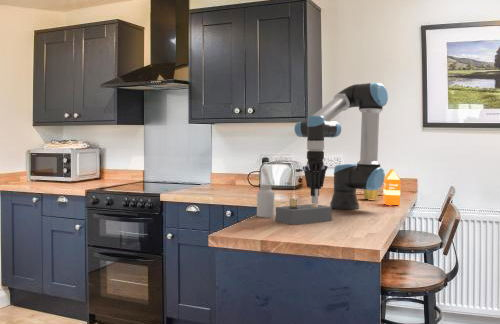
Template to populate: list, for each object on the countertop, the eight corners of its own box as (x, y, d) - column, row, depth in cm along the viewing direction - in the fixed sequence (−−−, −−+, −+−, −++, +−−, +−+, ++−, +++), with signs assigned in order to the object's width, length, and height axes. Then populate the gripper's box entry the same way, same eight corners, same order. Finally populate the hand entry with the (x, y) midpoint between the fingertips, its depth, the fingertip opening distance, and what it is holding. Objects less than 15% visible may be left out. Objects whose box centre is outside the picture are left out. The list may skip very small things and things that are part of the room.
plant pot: (358, 199, 296) (358, 183, 295) (373, 198, 299) (373, 182, 298) (367, 201, 286) (367, 184, 285) (382, 200, 289) (383, 184, 289)
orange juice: (396, 204, 276) (397, 168, 275) (400, 206, 267) (401, 169, 266) (382, 203, 276) (383, 168, 275) (385, 205, 268) (386, 169, 267)
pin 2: (314, 216, 219) (314, 204, 219) (319, 217, 217) (319, 205, 216) (309, 217, 218) (309, 205, 217) (313, 218, 215) (313, 206, 215)
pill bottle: (259, 218, 220) (260, 185, 219) (254, 215, 227) (255, 183, 227) (276, 217, 222) (276, 184, 221) (270, 214, 230) (271, 183, 229)
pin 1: (293, 210, 213) (293, 198, 212) (298, 211, 210) (298, 199, 210) (287, 211, 211) (288, 198, 211) (292, 212, 208) (292, 199, 208)
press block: (313, 216, 225) (314, 204, 225) (331, 220, 215) (331, 207, 215) (275, 220, 213) (275, 207, 213) (292, 224, 203) (292, 210, 203)
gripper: (320, 150, 222) (320, 201, 224) (298, 150, 215) (298, 203, 217) (332, 150, 216) (331, 203, 217) (309, 151, 209) (308, 205, 210)
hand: (314, 203), depth 217 cm, fingers closed
